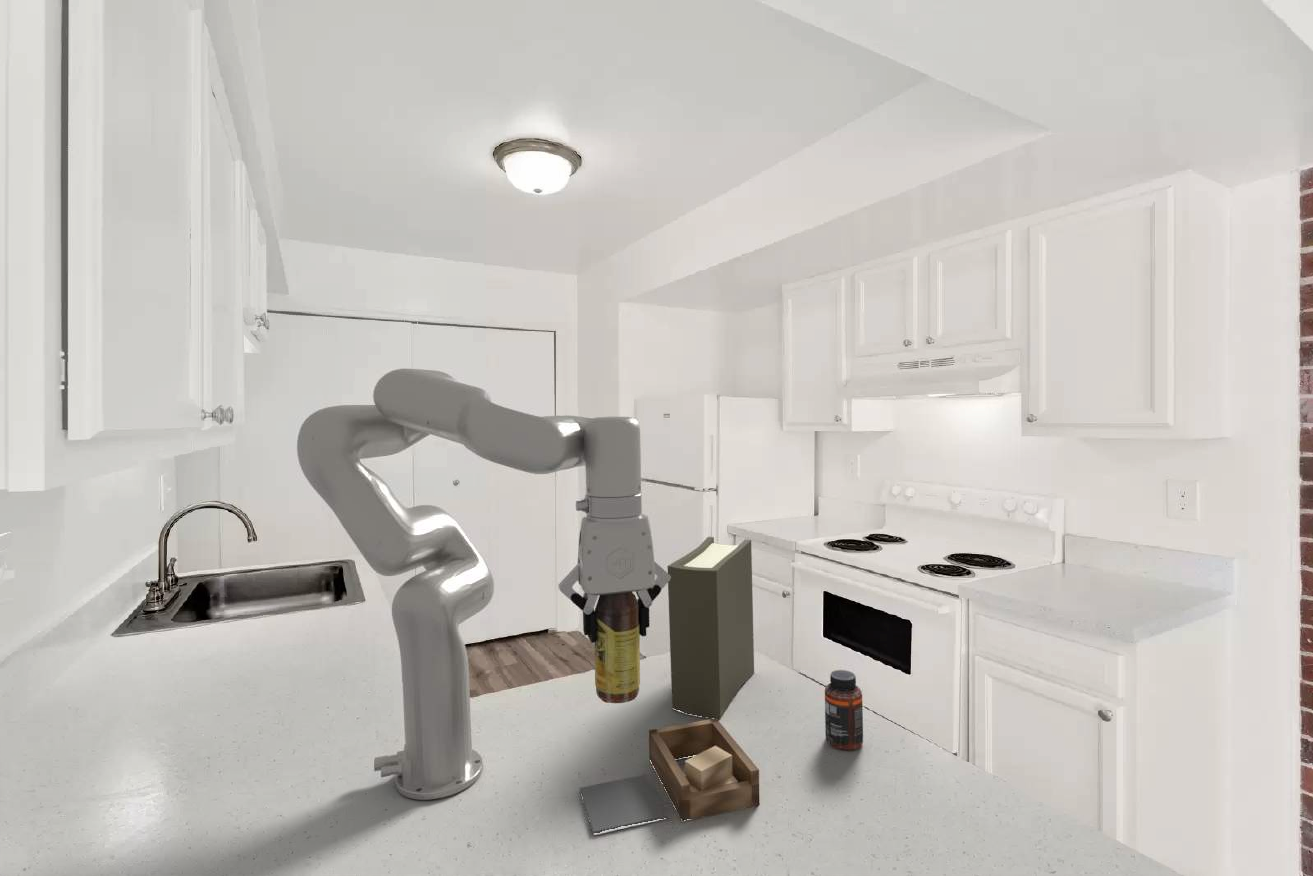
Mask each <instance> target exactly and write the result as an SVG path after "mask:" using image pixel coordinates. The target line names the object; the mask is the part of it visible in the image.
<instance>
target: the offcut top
mask: <svg viewBox="0 0 1313 876" xmlns="http://www.w3.org/2000/svg"><path fill="white" fill-rule="evenodd" d="M684 775H685V777H686V779H687V780H688V782H689V783H690V785H691V786H693V787H694V788H696V789H697V790H699V791H701V790H706V789H709V788H711V787H713V786H715V785H716V784H718V783H720V782H722V781H724V780H726V779H727V778H729V777H731V776H732V755H731V754H729V753H727V752H725V751H724V750H722V749H720V748H718V747H717V746H714V747H712V748H710V749H708V750H706V751H704V752H702V753H700V754H698V755H696V756H694V757H692V758H687V759H685V760H684Z"/></svg>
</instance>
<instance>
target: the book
mask: <svg viewBox="0 0 1313 876" xmlns="http://www.w3.org/2000/svg"><path fill="white" fill-rule="evenodd" d="M752 554H753V553H752V540H751V539H744V540H743V541H742V542H741V543H739V544H737V545H736V544H735V545H731V544H720V543H715V537H714V536H707V537H706V538H705V539H704V541H703V542H702V543H701V544H699V546H698V547H696V548H695V549H694V550H691V551H690V552H689V553H687V554H685V555H683V556H682V557H680V558H679V559H677V560H675V561H673V562H672V563H670V564H669V565H667V573H668V574H669V575H670V576H671V579H670V581H669V582H668V583H667V592H668V594H667V595H668V596H667V597H668V617H669V618H668V619H669V621H668V622H669V623H668V624H669V625H668V626H669V647H670V648H669V651H670V652H669V654H670V655H669V656H670V657H669V658H670V678H671V681H670V683H671V685H670V686H671V707H672V708H674V709H676V710H680V711H682V712H684V713H687V714H692V715H697V716H702V717H708V718H707V719H709V718H717V720H722V718H723V716H724V715H725V713H726V710H727V709H728V707H729V706H730V704H731V702H732V701H733V700H734V697H735V696H736V695H737V694H738V692H739V690H740V689H741V688H742V687H743V685H744V684H745V683H746V682H747V681H748V680H749V679H750V678H751V677H752V676H753V675H754V674H755V652H754V651H755V650H754V649H755V647H754V646H755V645H754V641H755V639H754V611H753V610H754V605H753V604H754V603H753V599H754V598H753V566H752V565H753V561H752V559H753V558H752V557H753V556H752ZM672 708H671V709H672ZM721 717H722V718H721Z"/></svg>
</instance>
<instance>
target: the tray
mask: <svg viewBox="0 0 1313 876" xmlns="http://www.w3.org/2000/svg"><path fill="white" fill-rule="evenodd" d="M714 746H717V747H718V748H720V749H722V750H724V751H725V752H727V753H729V754H731V755H732V775H733V776H734V777H735V779H736V780H737V781H738V783H734V784H729V785H725V786H720V787H715V788H710V789H706V790H701V791H696V792H692V793H690V783H689V782H688V780H687V779H686V777H685V773H684V771H682V769H681V767H680V766H679V764H678V762H677V760H676V761H675V759H679V758H683V757H688V756H693V755H698V754H700V753H702V752H704V751H706V750H708V749H710V748H712V747H714ZM648 747H649V748H648V753H649V759H650V760H651V762H652V765H653V766H654V768H655V770H656V772H657V774H658V776H659V778H660V780H661V782H662V783H663V785H662V787H663V786H664V787H665V789H666V791H667V793H668V795H669V797H670V798H669V797H668V798H669V800H670V799H671V800H670V802H671V801H672V802H673V804H672V805H674V806H675V808H676V810H677V811H676V810H675V811H676V813H677V812H678V813H677V815H678V814H679V815H678V817H679V816H680V817H679V819H680V818H681V819H682V821H684V820H687V819H694V820H698V819H702V817H703V818H706V817H711V815H712V816H714V815H720V814H725V813H729V812H732V811H737V810H741V809H746V808H751V807H755V806H759V805H760V769H759V768H758V767H757V765H756V764H755V763H754V762H753V761H752V759H751V758H750V757H749V755H748V754H747V753H746V752H745V751H744V750H743V748H742V747H741V746H740V745H739V744H738V742H737V741H736V740H735V739H734V738H733V736H732V735H731V734H730V733H729V732H728V731H727V729H726V728H725V726H724V725H723V724H722V723H721V722H720V721H719V719H717V718H714V719H709V718H708V719H704V720H699V721H694V722H693V721H692V722H687V723H681V724H676V725H671V726H665V727H661V728H660V727H659V728H653V729H649V730H648ZM652 765H651V766H652ZM656 772H655V773H656ZM657 774H656V775H657ZM658 776H657V777H658ZM659 778H658V779H659ZM660 780H659V781H660ZM661 782H660V783H661ZM664 787H663V788H664ZM665 789H664V790H665ZM666 791H665V792H666ZM667 793H666V794H667ZM668 795H667V796H668ZM672 802H671V803H672ZM674 806H673V807H674ZM675 808H674V809H675ZM724 812H725V813H724ZM697 818H698V819H697ZM681 819H680V820H681ZM682 821H681V822H682Z"/></svg>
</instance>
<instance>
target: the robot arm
mask: <svg viewBox="0 0 1313 876" xmlns="http://www.w3.org/2000/svg"><path fill="white" fill-rule="evenodd" d="M372 399H373V403H374V404H343V405H340V404H339V405H334V406H329V407H328V406H327V407H324V408H321V409H319V410H316V411H314V412H312V413H311V414H310V415H309V416H307V418H306V419H305V420H304V421H303V422H302V424H301V427H300V429H299V432H298V435H297V442H296V451H297V452H296V453H297V459H298V463H299V466H300V469H301V470H302V473H303V475H304V477H305V479H306V480H307V481H308V483H309V485H310V486H311V487H312V488H313V490H314V491H315V492H316V493H317V494H318V495H319V496H320V498H321V499H322V500H323V502H325V503H326V504H327V506H328V507H329V509H331V510H332V512H333V513H334V515H335V516H336V518H337V519H338V521H339V523H340V524H341V526H342V527H343V529H344V530H345V531H346V533H347V535H348V536H349V537H350V540H352V542H353V543H354V545H355V546H356V548H357V549H358V550H359V552H360V554H361V555H362V557H363V558H364V560H365V561H366V562H367V563H368V565H369V567H371V569H372V570H373V571H375V572H376V573H377V574H379V575H381V576H384V577H395V576H400V575H402V574H405V573H408V572H410V571H413V570H415V569H418V568H421V567H423V568H424V569H425V571H422V572H420V573H418V574H416V575H414V576H412V577H411V578H408V579H407V580H406V581H404V583H403V584H402V585H401V586H399V588H398V589H397V591H396V592H395V595H394V597H393V600H392V602H391V603H392V605H391V616H392V617H391V618H392V621H393V625H394V630H395V633H396V637H397V642H398V646H399V647H398V648H399V653H400V655H399V656H400V663H401V664H400V665H401V683H402V701H403V720H404V721H403V722H404V723H403V724H404V742H405V743H404V746H403V750H399V751H397V752H396V754H391V755H382V756H381V755H380V756H375V757H374V759H373V770H374V772H379V771H380V777H381V778H386V777H390V776H394V775H395V787H396V790H397V791H398V792H399V794H401V795H402V796H404V797H405V798H406V797H407V798H409V799H413V800H420V801H422V800H423V801H428V800H430V801H431V800H437V799H444V798H446V797H450V796H453V795H455V794H457V793H459V792H462V791H465V789H467V788H469V787H470V786H471V785H473V784H474V783H475V782H476V781H477V780H478V779H479V778H480V776H481V775H480V774H482V773H481V772H483V770H482V769H484V760H483V757H482V755H481V754H480V753H479V752H478V751H476V750H474V749H473V748H472V747H473V746H472V745H473V744H472V743H473V742H472V723H471V722H472V720H471V698H470V697H471V696H470V695H471V693H470V692H471V691H470V690H471V689H470V673H469V672H470V671H469V658H468V652H467V647H466V645H465V642H464V641H463V639H462V638H463V637H461V635H460V634H461V633H460V630H459V626H460V624H462V623H464V622H465V621H466V620H468V619H470V618H472V617H474V616H475V615H477V614H478V613H480V612H481V611H483V610H484V609H485V608H486V607H487V606H488V605H489V604H490V603H491V600H492V598H493V596H494V591H495V582H494V578H493V574H492V573H491V570H490V567H489V566H488V564H487V563H486V562H485V560H484V559H483V557H482V556H481V554H480V553H479V552H478V550H477V549H476V548H475V546H474V544H473V543H472V541H471V540H470V539H469V538H468V536H467V534H466V533H465V531H464V530H463V529H462V527H461V526H460V525H459V524H458V522H457V521H456V519H455V518H454V517H453V516H452V515H451V514H450V513H448V512H447V511H446V510H444V509H442V508H441V507H439V506H436V505H431V504H422V505H416V506H413V507H406V506H404V505H403V504H402V503H401V502H400V501H399V499H398V498H397V497H396V494H394V492H393V491H392V489H391V488H390V485H388V484H387V483H386V481H384V479H383V478H382V477H380V476H379V475H378V474H377V473H375V472H374V471H373V470H371V469H370V468H368V467H367V466H365V465H364V464H363V463H362V462H361V461H360V460H361V459H362V460H363V459H372V458H379V457H386V456H392V455H395V454H399V453H401V452H403V451H405V450H407V449H409V448H410V447H412V446H413V445H415V444H417V443H419V442H420V441H422V440H424V439H425V438H426V437H427V438H428V436H430V435H431V436H435V437H438V438H441V439H445V440H448V441H451V442H454V443H457V444H461V445H463V446H464V447H465V448H466V449H467V450H469V451H470V452H472V453H473V454H475V455H476V456H478V457H480V458H482V459H484V460H487V461H489V462H492V463H495V464H498V465H500V466H505V467H507V468H510V469H513V470H517V471H521V472H525V473H529V474H535V475H548V474H552V473H556V472H560V471H565V470H570V469H573V468H574V469H575V468H577V467H583V466H584V467H585V492H586V493H585V494H584V498H583V499H581V500H576V501H575V510H576V512H580V511H581V512H584V513H585V515H586V516H584V517H582V520H581V522H580V523H581V524H580V529H579V534H578V535H579V538H578V548H577V549H578V550H577V564H576V565H575V566H574V568H572V569H571V571H570V572H569V573H568V574H567V575H566V576H565V577H564V578H563V579H562V580H561V581H560V582H559V584H558V585H557V586H558V589H559V591H560V592H561V593H562V594H563V595H564V596H565V597H567V598H568V599H569V600H570V601H571V602H572V603H573V604H574V605H575V606H577V608H579V609H580V610H581V611H582V621H583V622H582V627H583V628H582V631H583V634H584V636H587V637H588V639H589V641H590V643H591V644H594V643H595V642H596V641H597V619H596V613H595V612H594V611H595V608H594V607H595V606H596V605H595V604H597V601H598V599H599V596H600V595H607V594H616V593H626V592H632V593H633V592H635V595H636V597H637V601H638V606H639V611H638V615H639V616H638V618H639V628H640V636H641V637H646V636H647V629H648V628H650V607H652V605H653V602H654V601H655V599H656V598H657V597H658V596H659V594H660V593H661V592H662V590H663V589H664V588H665V587H666V585H668V582H669V581H670V579H671V576H670V575H669V574H668V571H666V570H665V569H664V568H663V567H661V565H660V564H658V563H657V561H656V562H655V556H654V555H655V554H654V553H655V551H654V545H653V537H652V531H651V526H650V520H649V517H648V515H646V514H642V511H643V508H642V507H643V506H642V502H643V501H642V500H643V499H642V465H641V464H642V461H641V459H642V456H641V455H642V454H641V451H642V450H641V426H640V423H639V422H638V420H637V419H636V418H633V417H631V416H599V417H596V416H595V417H593V418H592V417H586V416H585V417H583V416H579V415H548V416H537V415H534V414H531V413H530V414H529V413H525V412H522V411H519V410H515V409H511V408H507V407H504V406H502V405H499V404H497V403H494V402H492V400H491V396H490V395H489V393H488V392H487V391H486V390H485V389H483V388H480V387H477V386H475V385H470V384H466V383H462V382H459V381H457V380H456V378H454V377H453V376H452V375H450V374H448V373H446V372H444V371H440V370H431V369H420V368H397V369H394V370H393V369H392V370H391V371H388V372H387V373H385V374H384V375H383V376H381V377H380V379H379V380H378V381H377V382H376V383H375V386H374V389H373V393H372ZM577 582H578V584H579V586H580V587H581V590H582V591H583V594H582V595H581V594H580V593H579V592H577V591H576V590H575V589H574V588H573V587H574V585H575V584H576V583H577ZM477 778H478V779H477Z"/></svg>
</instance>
